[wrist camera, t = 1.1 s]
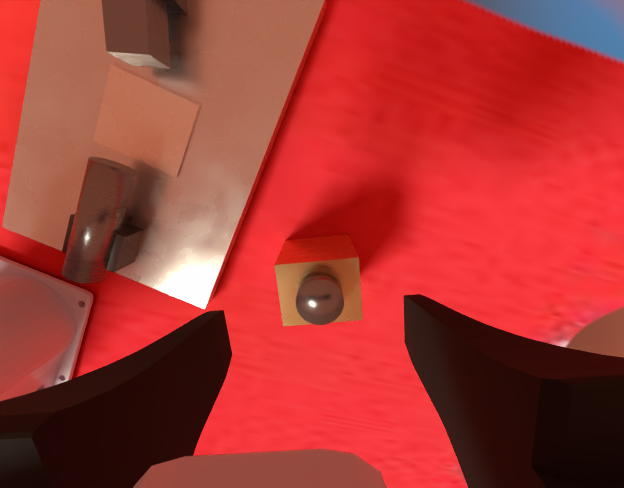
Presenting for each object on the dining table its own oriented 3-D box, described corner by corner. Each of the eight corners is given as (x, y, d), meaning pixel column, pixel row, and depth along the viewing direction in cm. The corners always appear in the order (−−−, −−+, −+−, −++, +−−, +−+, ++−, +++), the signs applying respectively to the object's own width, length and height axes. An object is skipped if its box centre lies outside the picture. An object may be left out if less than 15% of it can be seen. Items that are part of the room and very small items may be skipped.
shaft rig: (212, 299, 22) (184, 333, 17) (24, 222, 21) (-57, 238, 16) (325, 10, 17) (327, -45, 12) (88, -113, 16) (-4, -223, 11)
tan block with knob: (351, 282, 21) (366, 331, 15) (291, 287, 21) (280, 338, 15) (348, 233, 20) (362, 265, 14) (285, 239, 20) (271, 273, 14)
